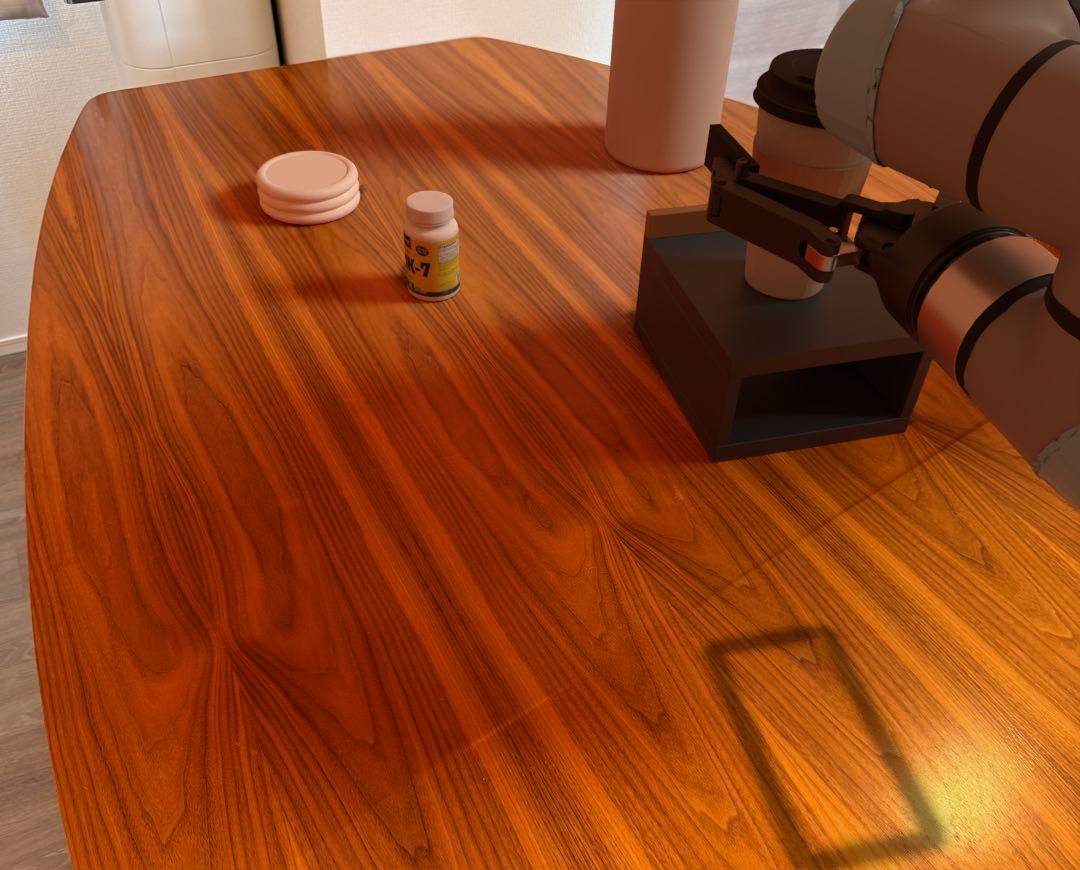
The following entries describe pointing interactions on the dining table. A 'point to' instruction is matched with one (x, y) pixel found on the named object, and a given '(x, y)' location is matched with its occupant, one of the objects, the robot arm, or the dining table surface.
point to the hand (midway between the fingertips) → (803, 135)
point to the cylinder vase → (667, 80)
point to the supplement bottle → (431, 246)
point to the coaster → (308, 187)
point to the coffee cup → (796, 160)
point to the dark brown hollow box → (768, 346)
